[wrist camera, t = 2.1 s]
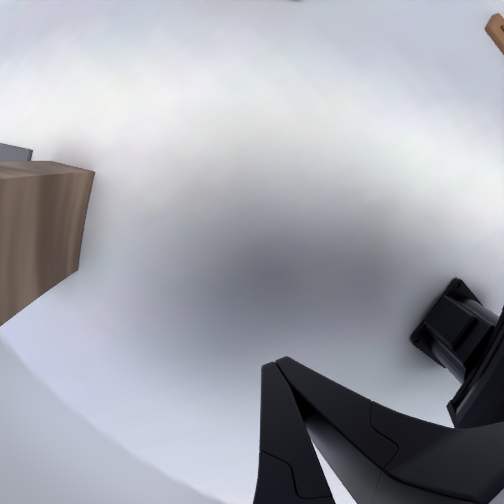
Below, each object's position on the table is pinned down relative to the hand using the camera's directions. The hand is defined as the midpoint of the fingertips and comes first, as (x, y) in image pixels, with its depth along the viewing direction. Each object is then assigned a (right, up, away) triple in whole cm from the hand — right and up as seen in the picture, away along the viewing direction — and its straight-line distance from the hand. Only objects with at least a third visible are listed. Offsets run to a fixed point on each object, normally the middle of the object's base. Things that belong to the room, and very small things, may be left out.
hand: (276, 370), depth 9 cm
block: (-14, +6, +9) cm, 18 cm away
